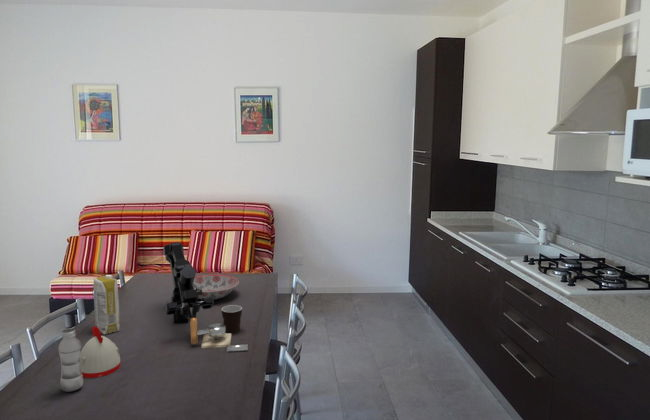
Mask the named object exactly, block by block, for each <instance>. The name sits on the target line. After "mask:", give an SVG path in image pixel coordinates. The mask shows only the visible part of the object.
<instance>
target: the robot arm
mask: <svg viewBox="0 0 650 420" xmlns="http://www.w3.org/2000/svg"><path fill="white" fill-rule="evenodd" d="M183 245H184V244H183V243H181V242H179V241H178V242H171V243H169V244H166V245H164V246H163V248H162V252H163V255H164V257H165V260H166V261H167V262H168V263H169V265H170V271H171V277H172V281H173V288H174V289H173V290H172V296H171V299H170V302H167V303H166V305H165V309H164V310H165V311H164V312H165V316H171V315H173V320H172V323H173V324H182V323H185V324H187V323H189V322H190V318H192V317H197V313H199V312H200V309H201V308H202V309H203V310H209V309H212V308H213V306H214V304H215V299H213V298H212V297H206V298H203V300H201V301H198V298H197V297H198V295H202V288H201V287H197V288H196V289H194V287H193V282H194V278H195V276H196V272H197V270H196V268H194V267H193V265H192V264H191V262H190V261H189V260H187V259H186V257H185V255H184V246H183Z"/></svg>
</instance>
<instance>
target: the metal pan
mask: <svg viewBox="0 0 650 420" xmlns="http://www.w3.org/2000/svg"><path fill="white" fill-rule="evenodd" d="M189 324H190V325H189V326H190V344H193V345H196V344H198V341H199V340H198V339H199V338H198V336H200V335H204V334H208V336H210V337H221V336H224V335H225V334H226V326H225V325H224V324H223V323H220V322H219V323H218V322H216V323H212V324H209V325H208V326H207V328H204V329H200V330H198V317H197V316H196V317H192V318H190V321H189Z"/></svg>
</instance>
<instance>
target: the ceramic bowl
mask: <svg viewBox="0 0 650 420" xmlns="http://www.w3.org/2000/svg"><path fill="white" fill-rule="evenodd" d="M239 283H240V281H239V279H238V278H237V277H235V276H233V275H226V274H213V273H212V274H203V275H202V274H201V275H195V278H194V282H193V287H194V289H196V288H197V287H201V288H202V295H198V297H197V298H198V299H199V300H201V301H203V298H206V297H212V298H213V299H214V300H218V299H222V298H224V297H226V296H228V295H229V294H230V293H232V291H233V290H234V289H235V287H237V286H238V285H239Z"/></svg>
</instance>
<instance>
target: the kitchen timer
mask: <svg viewBox="0 0 650 420" xmlns="http://www.w3.org/2000/svg"><path fill="white" fill-rule="evenodd" d="M91 331H92V338H91V337H90V339H89V340H88V341H87V342H86V343H85V344H84V345H83V347H82V348H81V354H80V365H81V372H82V375H83V378H86V379H87V378H89V379H93V378H100V377H101V378H102V377H105V376H108V375H111V374H113V373H115V372H116V371H117V369H118V370H119V369H120V368H121V366H122V365H121V355H120V351H119V346H118V347H117V345H116V343H115V342H113V341H112V340H111V339H109V338H108V337H106V336H104V335H102V333H101V332H100V329H98V327H97V328H96V325H94V326H93V328H91ZM120 365H121V366H120ZM119 367H120V368H119Z"/></svg>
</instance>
